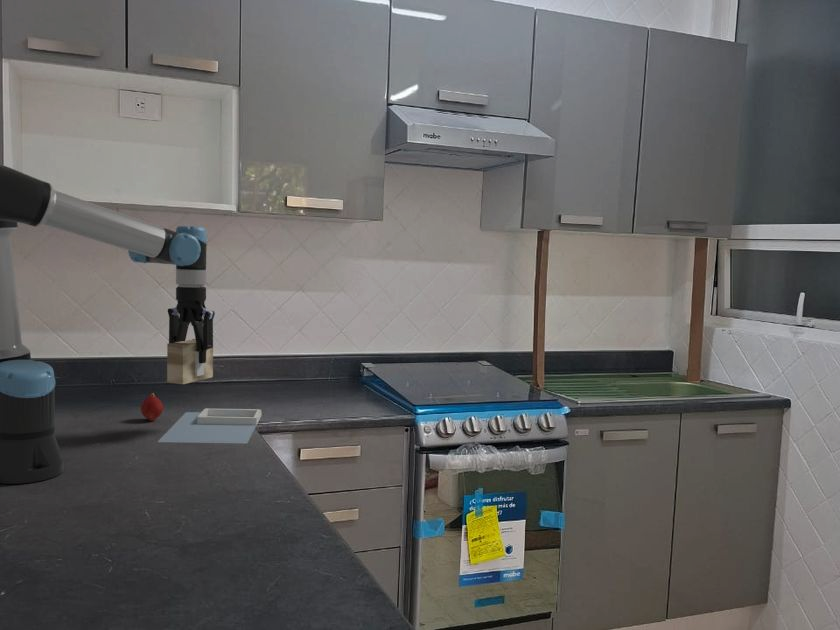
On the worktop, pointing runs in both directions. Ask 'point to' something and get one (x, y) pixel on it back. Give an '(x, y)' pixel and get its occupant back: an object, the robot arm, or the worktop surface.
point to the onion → (151, 408)
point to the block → (186, 362)
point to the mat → (206, 431)
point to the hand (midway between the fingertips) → (190, 374)
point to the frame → (234, 416)
